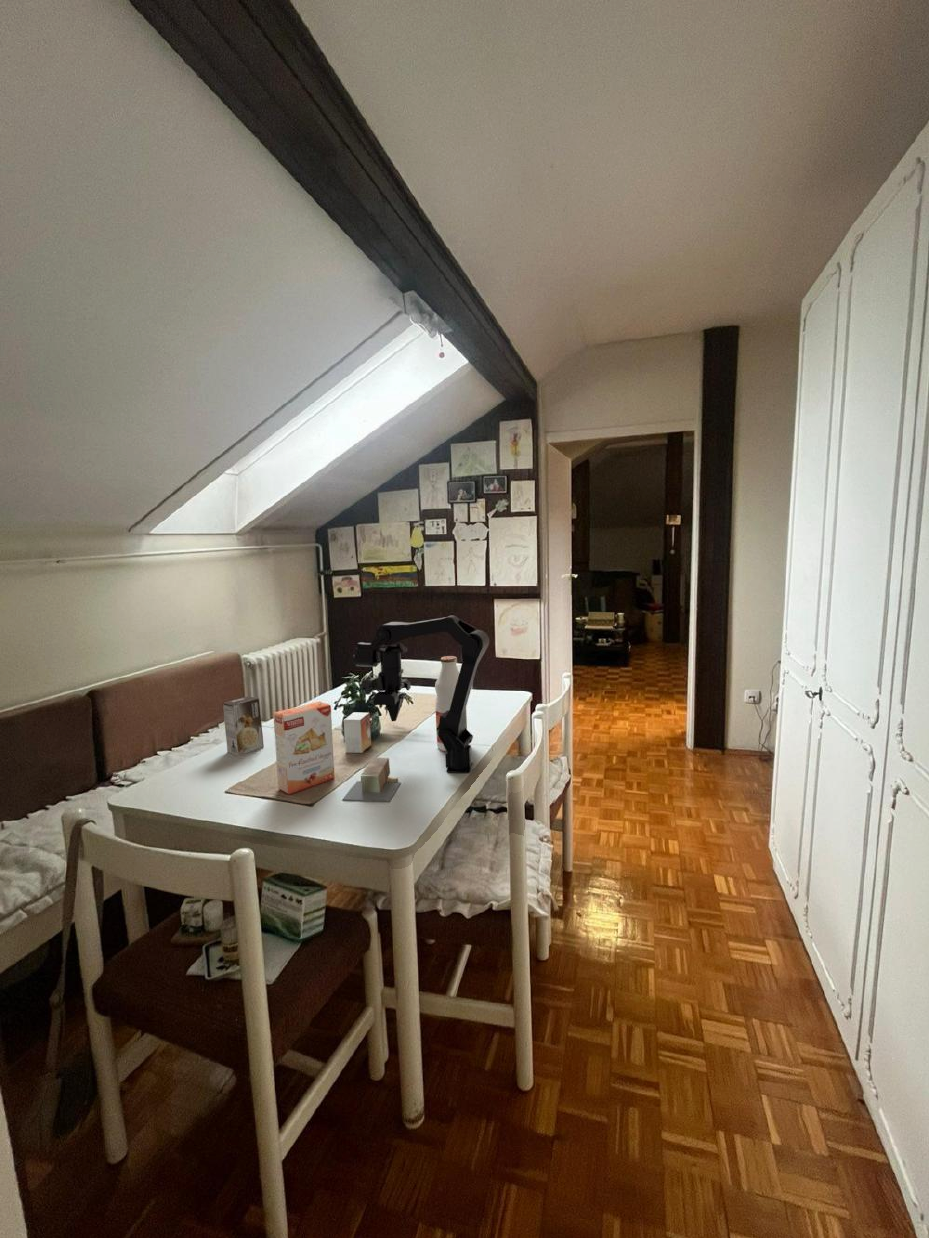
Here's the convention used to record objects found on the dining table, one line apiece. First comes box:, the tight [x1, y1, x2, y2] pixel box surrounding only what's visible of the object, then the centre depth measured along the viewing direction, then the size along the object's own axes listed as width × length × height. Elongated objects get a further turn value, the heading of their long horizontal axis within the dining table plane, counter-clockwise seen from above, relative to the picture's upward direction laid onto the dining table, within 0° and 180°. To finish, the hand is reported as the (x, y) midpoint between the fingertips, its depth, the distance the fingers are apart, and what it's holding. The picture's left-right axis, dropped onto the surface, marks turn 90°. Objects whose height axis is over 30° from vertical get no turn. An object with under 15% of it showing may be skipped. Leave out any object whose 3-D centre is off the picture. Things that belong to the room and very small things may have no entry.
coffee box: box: [222, 695, 265, 757], centre depth 182 cm, size 9×6×16 cm
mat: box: [341, 780, 402, 803], centre depth 149 cm, size 12×11×1 cm
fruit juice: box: [434, 655, 468, 752], centre depth 178 cm, size 9×9×28 cm
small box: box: [343, 711, 372, 754], centre depth 180 cm, size 8×6×10 cm
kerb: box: [386, 777, 399, 782], centre depth 155 cm, size 10×1×1 cm, turn 81°
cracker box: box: [272, 701, 335, 795], centre depth 154 cm, size 14×6×21 cm, turn 136°
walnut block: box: [360, 757, 391, 793], centre depth 152 cm, size 4×4×10 cm
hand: (393, 720), depth 166 cm, fingers closed
